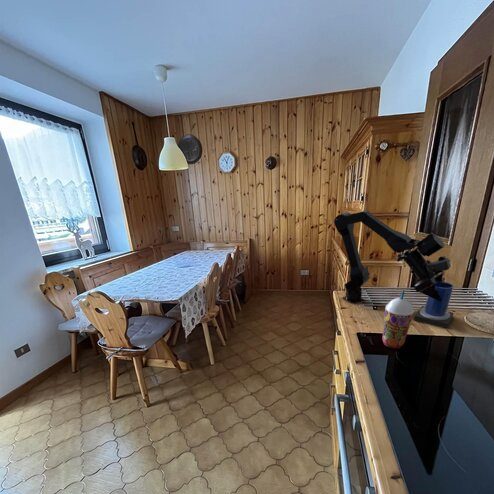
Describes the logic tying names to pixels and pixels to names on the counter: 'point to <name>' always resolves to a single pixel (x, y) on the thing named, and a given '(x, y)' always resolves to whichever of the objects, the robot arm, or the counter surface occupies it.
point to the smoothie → (397, 321)
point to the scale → (433, 318)
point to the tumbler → (436, 306)
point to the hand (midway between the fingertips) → (443, 296)
